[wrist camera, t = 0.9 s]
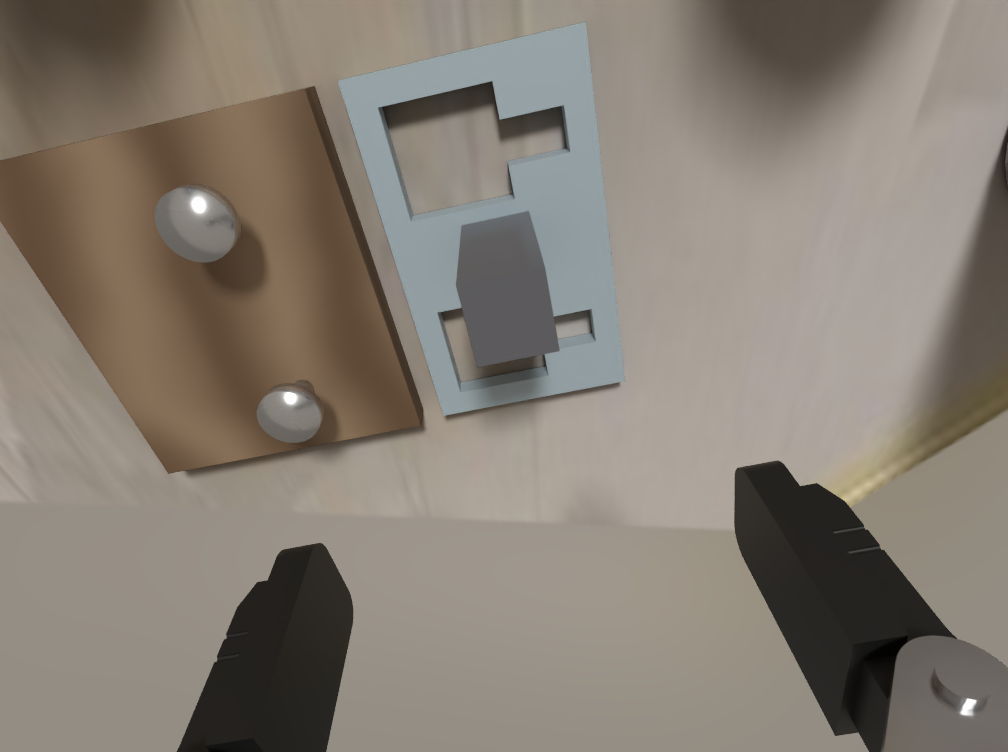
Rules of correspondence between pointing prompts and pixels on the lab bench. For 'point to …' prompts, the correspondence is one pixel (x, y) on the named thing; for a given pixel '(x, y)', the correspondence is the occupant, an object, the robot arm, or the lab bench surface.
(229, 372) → the walnut board
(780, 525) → the robot arm
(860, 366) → the lab bench surface
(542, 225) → the keyhole panel
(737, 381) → the lab bench surface
